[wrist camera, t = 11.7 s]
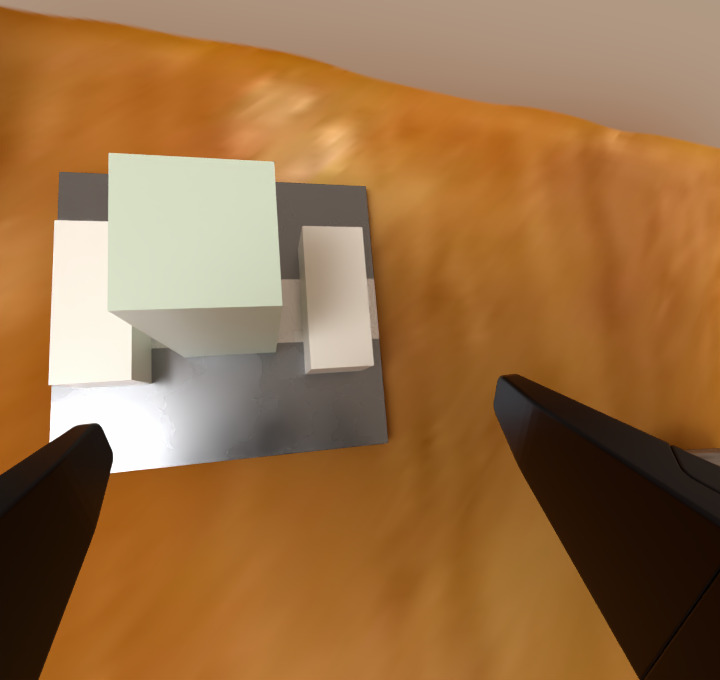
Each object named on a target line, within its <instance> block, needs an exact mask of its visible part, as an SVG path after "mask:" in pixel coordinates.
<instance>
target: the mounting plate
mask: <svg viewBox="0 0 720 680" xmlns="http://www.w3.org/2000/svg"><path fill="white" fill-rule="evenodd" d="M108 179H109V174H93V173H72V172H59V197H58V220H69V221H108ZM275 186H276V203H277V220H278V238H279V255H280V272H281V289H282V312H281V319H280V326H279V333H278V340H277V347H276V352H271V353H253V354H235V355H217V356H199V357H183V356H181V355H180V354H178V353H176V352H175V351H173V350H171V349H170V348H168V347H166V346H165V345H163V344H162V343H160V342H158V341H157V340H155V339H153V338H152V337H151V371H152V384H144V385H128V386H112V387H96V388H73V387H64V386H54V385H52V394H51V422H50V442H51V441H53V440H54V439H56V438H57V437H59V436H60V435H62V434H63V433H65V432H66V431H68V430H69V429H71V428H72V427H74V426H76V425H80V424H89V423H98V424H100V425H101V427H102V428H103V430H104V433H105V435H106V437H107V439H108V442H109V444H110V446H111V448H112V451H113V464H112V468H111V472H110V473H115V472H124V471H133V470H142V469H152V468H161V467H170V466H180V465H189V464H198V463H208V462H217V461H226V460H235V459H245V458H254V457H263V456H273V455H282V454H291V453H300V452H310V451H319V450H328V449H338V448H347V447H356V446H366V445H375V444H384V443H388V434H387V423H386V412H385V400H384V389H383V377H382V366H381V355H380V343H379V330H378V318H377V307H376V295H375V284H374V275H373V263H372V252H371V241H370V229H369V218H368V206H367V195H366V186H347V185H326V184H304V183H283V182H275ZM302 226H331V227H362V231H363V242H364V254H365V266H366V278H367V290H368V301H369V313H370V325H371V337H372V348H373V360H374V366H371V367H369V368H366V369H364V370H361V371H351V372H335V373H319V374H305V361H304V344H303V326H302V309H301V292H300V276H299V259H298V246H299V241H300V236H301V231H302Z"/></svg>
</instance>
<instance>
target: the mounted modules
mask: <svg viewBox="0 0 720 680" xmlns="http://www.w3.org/2000/svg"><path fill="white" fill-rule="evenodd" d="M298 259H299V276H300V292H301V309H302V326H303V344H304V361H305V374H319V373H335V372H351V371H361V370H364V369H366V368H369V367H371V366H374V360H373V348H372V337H371V325H370V313H369V301H368V290H367V278H366V266H365V254H364V242H363V231H362V227H331V226H302V231H301V236H300V241H299V246H298ZM107 301H108V221H69V220H55V224H54V251H53V278H52V305H51V332H50V359H49V385H54V386H64V387H73V388H96V387H112V386H128V385H144V384H152V371H151V337H150V336H148V335H147V334H145V333H143V332H142V331H140V330H138V329H137V328H135V327H133V326H132V325H130V324H128V323H127V322H125V321H124V320H122V319H120V318H119V317H117V316H115V315H114V314H112V313H110V312H109V311H107Z"/></svg>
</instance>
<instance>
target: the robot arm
mask: <svg viewBox="0 0 720 680" xmlns="http://www.w3.org/2000/svg"><path fill="white" fill-rule="evenodd" d="M494 411H495V414H496V416H497V418H498V421H499V423H500V425H501V428H502V430H503V432H504V435H505V437H506V439H507V442H508V444H509V446H510V449H511V451H512V453H513V456H514V458H515V460H516V462H517V464H518V466H519V468H520V470H521V472H522V474H523V476H524V477H525V479H526V481H527V483H528V484H529V486H530V488H531V490H532V492H533V493H534V495H535V497H536V499H537V500H538V502H539V504H540V506H541V507H542V509H543V511H544V513H545V514H546V516H547V518H548V520H549V521H550V523H551V525H552V527H553V528H554V530H555V532H556V534H557V536H558V537H559V539H560V541H561V543H562V544H563V546H564V548H565V550H566V551H567V553H568V555H569V557H570V558H571V560H572V562H573V564H574V565H575V567H576V569H577V571H578V572H579V574H580V576H581V578H582V579H583V581H584V583H585V585H586V587H587V588H588V590H589V592H590V594H591V595H592V597H593V599H594V601H595V602H596V604H597V606H598V608H599V609H600V611H601V613H602V615H603V616H604V618H605V620H606V622H607V623H608V625H609V627H610V629H611V630H612V632H613V634H614V636H615V638H616V639H617V641H618V643H619V645H620V646H621V648H622V650H623V652H624V653H625V655H626V657H627V659H628V660H629V662H630V664H631V666H632V667H633V669H634V671H635V673H636V674H637V676H638V678H639V679H640V680H720V466H718V465H716V464H714V463H711V462H709V461H707V460H705V459H702V458H700V457H698V456H696V455H693V454H691V453H689V452H687V451H685V450H682V449H680V448H678V447H676V446H674V445H671V446H670V445H669V444H668V443H667V442H665V441H663V440H660V439H658V438H656V437H654V436H652V435H649V434H647V433H645V432H643V431H641V430H638V429H636V428H634V427H632V426H630V425H627V424H625V423H623V422H621V421H619V420H617V419H614V418H612V417H610V416H608V415H606V414H603V413H601V412H599V411H597V410H595V409H592V408H590V407H588V406H586V405H584V404H581V403H579V402H577V401H575V400H573V399H571V398H568V397H566V396H564V395H562V394H560V393H557V392H555V391H553V390H551V389H549V388H546V387H544V386H542V385H540V384H538V383H535V382H533V381H531V380H529V379H527V378H525V377H522V376H520V375H518V374H510V375H502V376H500V377H499V379H498V381H497V386H496V392H495V398H494ZM112 464H113V451H112V448H111V446H110V444H109V442H108V439H107V437H106V435H105V433H104V430H103V428H102V427H101V425H100V424H98V423H89V424H80V425H76V426H74V427H72V428H71V429H69V430H68V431H66V432H65V433H63V434H62V435H60V436H59V437H57V438H56V439H54V440H53V441H51V442H50V443H48V444H47V445H45V446H44V447H42V448H41V449H39V450H38V451H36V452H35V453H33V454H32V455H30V456H29V457H27V458H26V459H24V460H23V461H21V462H20V463H18V464H17V465H15V466H13V467H12V468H10V469H9V470H7V471H6V472H4V473H3V474H1V475H0V680H39V677H40V674H41V672H42V669H43V667H44V664H45V661H46V659H47V656H48V653H49V651H50V648H51V645H52V643H53V640H54V638H55V635H56V632H57V630H58V627H59V624H60V622H61V619H62V616H63V614H64V611H65V609H66V606H67V603H68V601H69V598H70V595H71V593H72V590H73V588H74V585H75V582H76V580H77V577H78V574H79V572H80V569H81V566H82V564H83V561H84V559H85V556H86V553H87V551H88V548H89V545H90V543H91V540H92V537H93V534H94V532H95V529H96V525H97V522H98V518H99V515H100V511H101V507H102V503H103V499H104V495H105V491H106V487H107V483H108V479H109V476H110V472H111V468H112Z"/></svg>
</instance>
